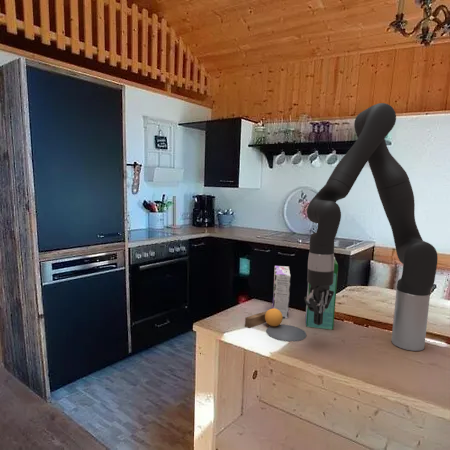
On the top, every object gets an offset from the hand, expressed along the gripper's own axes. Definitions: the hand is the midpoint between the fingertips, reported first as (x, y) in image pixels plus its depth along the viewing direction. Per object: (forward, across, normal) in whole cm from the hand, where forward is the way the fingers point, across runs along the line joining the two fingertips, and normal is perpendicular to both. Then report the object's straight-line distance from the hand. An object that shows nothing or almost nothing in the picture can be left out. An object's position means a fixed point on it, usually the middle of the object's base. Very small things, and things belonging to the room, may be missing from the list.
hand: (318, 323), depth 108 cm
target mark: (+7, 0, +12) cm, 14 cm away
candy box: (+7, +14, +26) cm, 30 cm away
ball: (+4, +2, +18) cm, 19 cm away
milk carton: (+7, +16, +10) cm, 20 cm away
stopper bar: (+6, 0, +23) cm, 24 cm away
